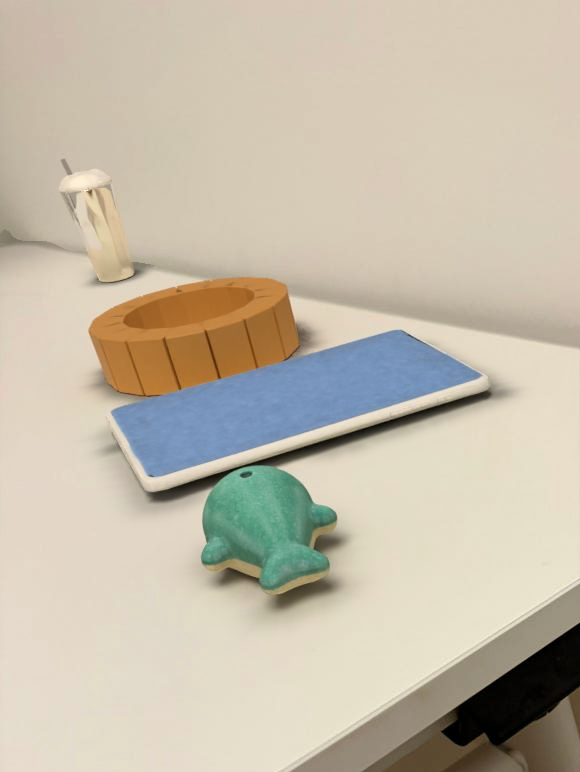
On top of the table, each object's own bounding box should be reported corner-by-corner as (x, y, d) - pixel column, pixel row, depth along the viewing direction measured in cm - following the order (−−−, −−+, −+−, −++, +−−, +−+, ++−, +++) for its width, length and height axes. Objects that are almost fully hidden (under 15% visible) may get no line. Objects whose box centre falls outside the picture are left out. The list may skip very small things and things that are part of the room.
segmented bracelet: (86, 365, 65) (67, 316, 62) (254, 315, 70) (242, 267, 68) (142, 412, 55) (122, 355, 53) (331, 350, 61) (319, 296, 59)
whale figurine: (319, 511, 42) (299, 434, 40) (373, 582, 36) (353, 496, 34) (194, 551, 40) (165, 473, 38) (230, 632, 35) (200, 545, 32)
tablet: (405, 343, 60) (402, 323, 59) (499, 395, 50) (496, 372, 50) (109, 430, 54) (101, 409, 53) (152, 508, 44) (143, 484, 43)
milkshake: (124, 267, 89) (86, 153, 83) (150, 273, 86) (111, 154, 80) (81, 280, 87) (38, 164, 81) (105, 287, 83) (63, 166, 78)
